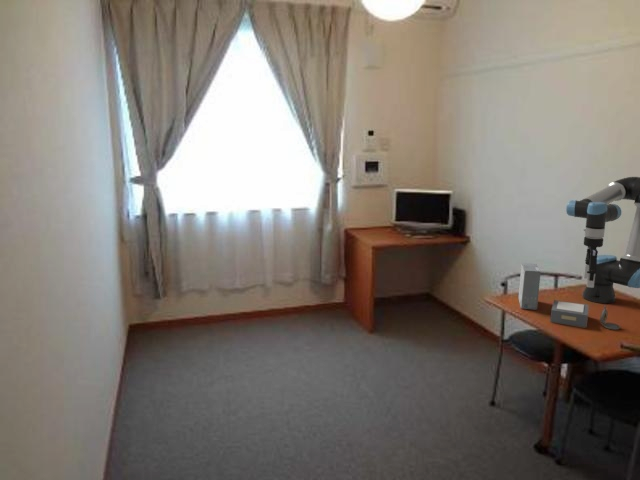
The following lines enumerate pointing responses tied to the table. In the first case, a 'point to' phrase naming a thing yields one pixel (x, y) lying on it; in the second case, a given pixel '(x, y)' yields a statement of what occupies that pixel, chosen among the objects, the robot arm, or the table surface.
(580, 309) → the display plinth
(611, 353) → the table surface
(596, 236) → the robot arm
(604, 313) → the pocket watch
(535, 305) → the hard drive box
